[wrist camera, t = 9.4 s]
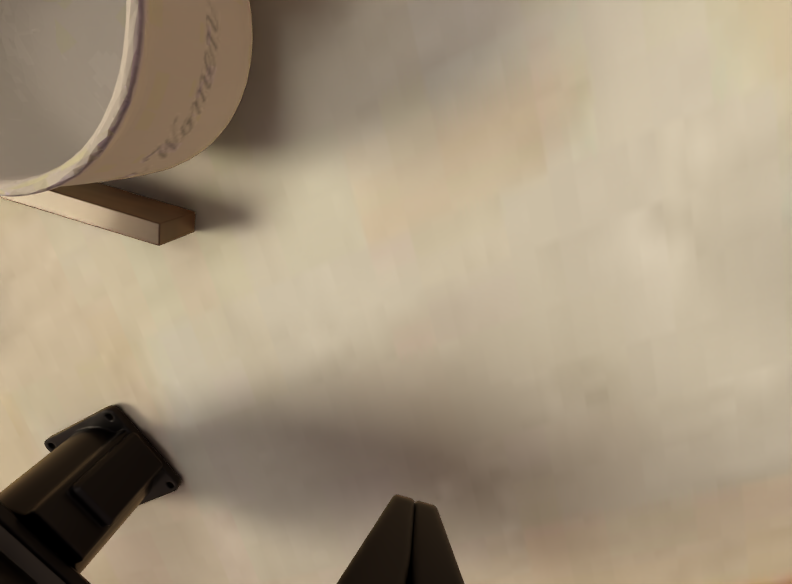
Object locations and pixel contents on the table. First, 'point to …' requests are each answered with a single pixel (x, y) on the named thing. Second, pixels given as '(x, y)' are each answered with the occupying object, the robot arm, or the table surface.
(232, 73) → the teacup
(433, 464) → the table surface
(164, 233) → the block
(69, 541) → the robot arm
